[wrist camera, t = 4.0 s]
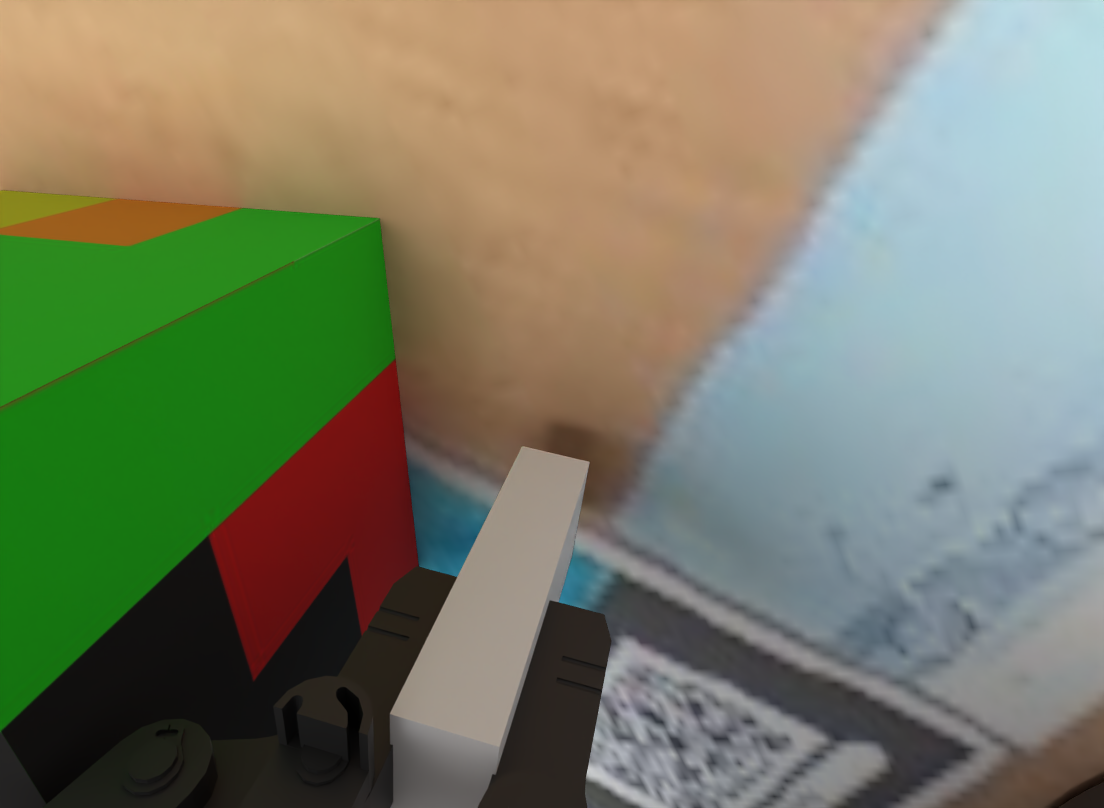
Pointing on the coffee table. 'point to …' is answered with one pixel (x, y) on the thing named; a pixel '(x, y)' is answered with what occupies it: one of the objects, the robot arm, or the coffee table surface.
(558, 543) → the robot arm
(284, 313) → the puzzle toy
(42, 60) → the coffee table surface
